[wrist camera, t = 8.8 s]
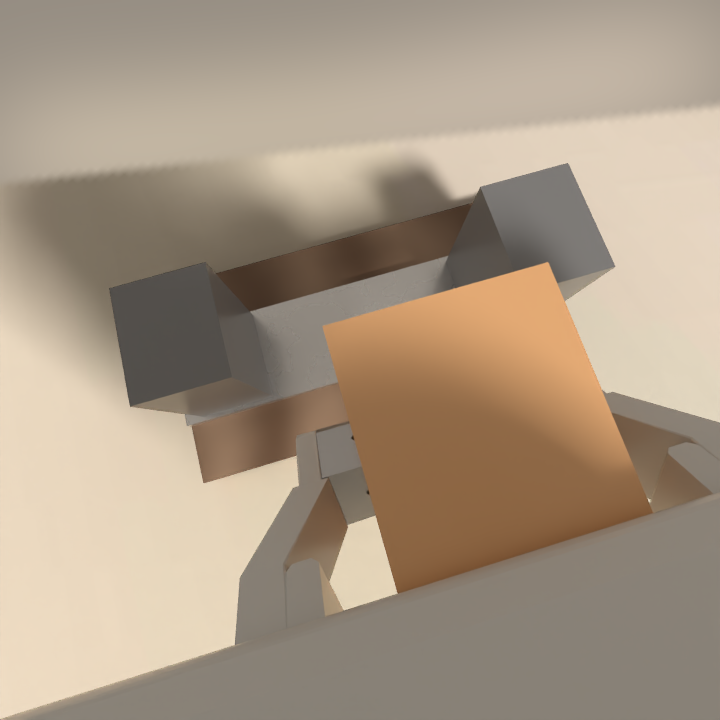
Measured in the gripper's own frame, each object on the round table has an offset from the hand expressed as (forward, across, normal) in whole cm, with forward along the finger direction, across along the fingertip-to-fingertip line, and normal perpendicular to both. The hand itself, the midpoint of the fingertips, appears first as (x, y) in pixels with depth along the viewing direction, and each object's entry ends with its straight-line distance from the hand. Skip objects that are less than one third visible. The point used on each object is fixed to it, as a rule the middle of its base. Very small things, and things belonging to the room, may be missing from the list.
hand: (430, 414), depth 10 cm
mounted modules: (+12, 0, +4) cm, 13 cm away
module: (+3, 0, +4) cm, 5 cm away
